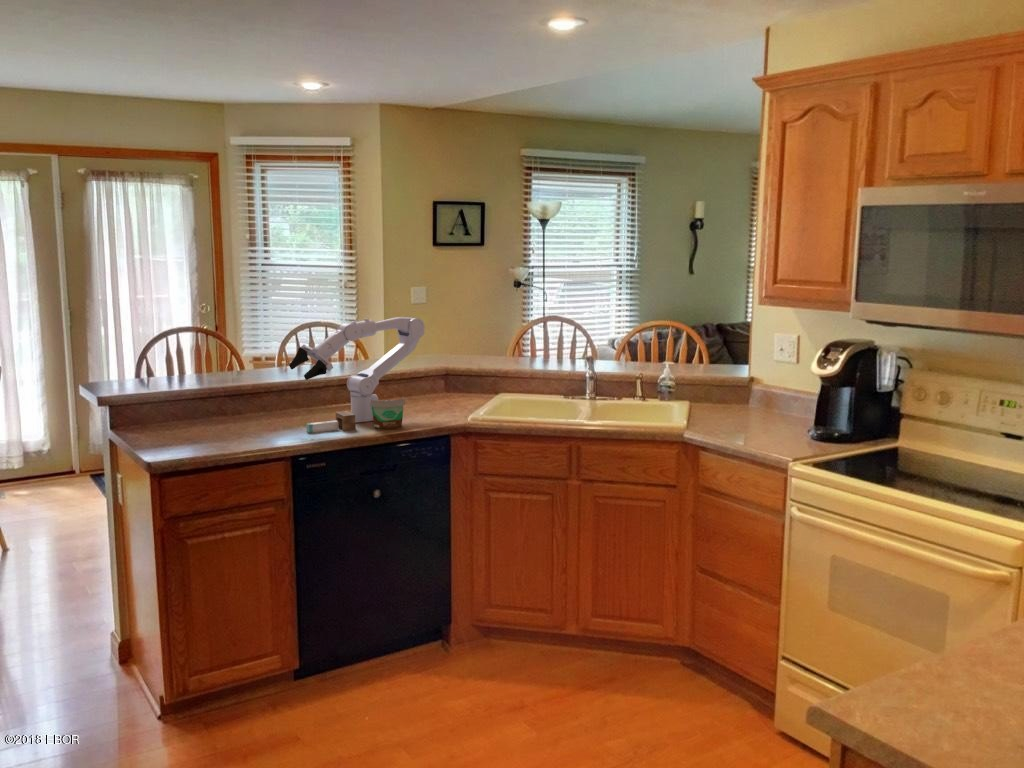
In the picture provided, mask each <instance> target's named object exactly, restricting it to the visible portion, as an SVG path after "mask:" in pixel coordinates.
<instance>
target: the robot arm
mask: <svg viewBox="0 0 1024 768" xmlns="http://www.w3.org/2000/svg"><path fill="white" fill-rule="evenodd" d="M425 328H426V327H425V323H424V321H423V320H422V319H421V318H418V317H414V318H413V317H408V316H397V317H391V318H388V319H383V320H379V321H374V320H373V319H369V318H368V317H367V318H363V320H361V321H360V320H359V321H356V320H352V321H351V323H347V322H346V323H344V322H343V323H342V324H338V325H337V327H336V330H335V331H334V332H333V333H332V334H330V335H329V336H328V337H326V338H325V339H324V340H322V342H320V343H319V344H318V345H316V346H314V347H311V346H309V345H306V344H302V345H301V346H300V347H299V348H298V349H297V351H296V355H295V356H294V357H293V359H292V360H291V362H290V363H289V368H290V369H291V370H293V369H296V368H297V367H298V366H300V365H301V364H303V363H306V362H308V361H309V360H310V359H309V357H310V358H311V359H313V360H314V361H316V363H314V365H313V366H312V367H311V368H310V369H309V370H308V371H307V372H305V374H304V375H303V377H304V380H305V381H308V380H310V379H312V378H314V377H317V376H322V375H327V373H328V372H330V371H331V370H333V369H334V366H333V364H332V363H331V362H330V361H329V359H330V358H331V357H333V356H334V355H336V353H337V352H339V351H340V350H341V349H343V348H344V347H345V346H346V345H347V344H349V343H350V342H355V341H357V340H358V339H363V338H368V337H373V336H375V335H376V333H377V332H380V331H386V330H397V335H398V340H399V341H398V344H397V345H395V346H394V347H393V348H392V349H390V350H389V351H388V352H387V353H386V354H384V355H383V356H382V357H381V358H379V359H378V360H376V361H375V362H374V363H373V364H372V365H371V366H369V367H368V368H366V369H364V370H360V371H359V372H358V373H356V374H352V375H350V376H349V377H348V378H347V380H346V387H347V389H348V391H350V392H349V393H350V413H352V414H354V415H355V424H356V423H363V422H366V423H367V422H374V421H373V413H372V406H370V401H371V400H375V401H380V400H379V397H378V395H377V394H376V393H373V392H374V391H375V389H376V388H377V386H379V384H380V383H379V381H380V379H381V378H383V377H385V375H386V374H387V373H389V371H390V372H391V370H392V369H393V368H394V367H396V366H397V365H398V364H399V363H401V361H403V360H404V359H406V358H407V356H409V355H410V354H411V353H413V352H414V350H415V349H416V347H417V345H418V343H419V342H420V339H421V338H422V337H423V336H424V335H425ZM327 371H328V372H327Z"/></svg>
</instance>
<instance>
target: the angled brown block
mask: <svg viewBox="0 0 1024 768" xmlns="http://www.w3.org/2000/svg"><path fill="white" fill-rule="evenodd" d="M335 420H336V421H338V426H339V428H341V429H342V431H344V432H345V431H346V432H347V431H354V430H356V423H355V415H354V414H352V413H351V411H348V410H344V411H335Z"/></svg>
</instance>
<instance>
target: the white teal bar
mask: <svg viewBox="0 0 1024 768" xmlns="http://www.w3.org/2000/svg"><path fill="white" fill-rule="evenodd" d="M305 425H306V426H305V427H306V428H305V429H306V432H307V433H308V434H312V433H313V434H315V433H314V432H316V433H323V431H325V432H332V430H334V431H339V430H340V427H339V426H338V421H336V419H334V420H327V421H318V422H316V421H315V422H308V423H306V424H305Z"/></svg>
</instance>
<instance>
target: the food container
mask: <svg viewBox="0 0 1024 768" xmlns="http://www.w3.org/2000/svg"><path fill="white" fill-rule="evenodd" d="M406 404H407V403H406V400H405V398H404V396H402V398H400V399H384V400H379V401H375V400H371V401H370V406H372V413H373V421H372V422H373V428H374V430H377V431H378V430H379V431H396V430H400V429H402V428H403V417H404V415H403V414H404V406H405V405H406Z"/></svg>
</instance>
